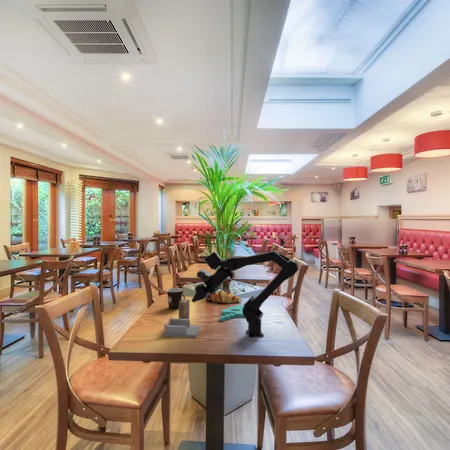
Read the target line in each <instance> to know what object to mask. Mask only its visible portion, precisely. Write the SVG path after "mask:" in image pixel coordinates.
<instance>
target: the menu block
mask: <svg viewBox="0 0 450 450" xmlns="http://www.w3.org/2000/svg"><path fill="white" fill-rule="evenodd" d="M178 319H190V299H188V298H185V299H184V298H183V299H181V301H179V309H178Z"/></svg>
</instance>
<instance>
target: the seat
mask: <svg viewBox="0 0 450 450" xmlns="http://www.w3.org/2000/svg"><path fill="white" fill-rule="evenodd" d="M200 328H201V325H199V324H198V325H197V324H194V325H193V324H191V319H190V318H189V319H179V318H172V316H171V315H170V316H169V317H168V318H167V319H166V320H165V322H164V323H163V335H162V336H163V337H171V338H172V337H173V338H174V337H175V338H197V336H198V334H199V331H200Z"/></svg>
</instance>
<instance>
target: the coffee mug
mask: <svg viewBox="0 0 450 450" xmlns="http://www.w3.org/2000/svg"><path fill="white" fill-rule="evenodd" d="M166 292H167V293H166V295H167V303H168V309H169V310H173V311H174V310H175V311H176V310H179V301H181V300H183V299H186V297H185V295H184V294H183V292H184V291H183V288H178V287H174V288H173V287H172V288H168V289H167V290H166ZM182 298H183V299H182Z"/></svg>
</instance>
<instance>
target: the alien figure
mask: <svg viewBox="0 0 450 450" xmlns="http://www.w3.org/2000/svg"><path fill="white" fill-rule="evenodd" d="M243 307H244V306H243V305H236V306H232V307H227V308H223V309H222V310H221V315H220V318H219V321H220V322H225V321H226V320H228V321H229V320H231V319H235V318H246V317H245V316H244V315H243V312H242V309H243Z"/></svg>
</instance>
